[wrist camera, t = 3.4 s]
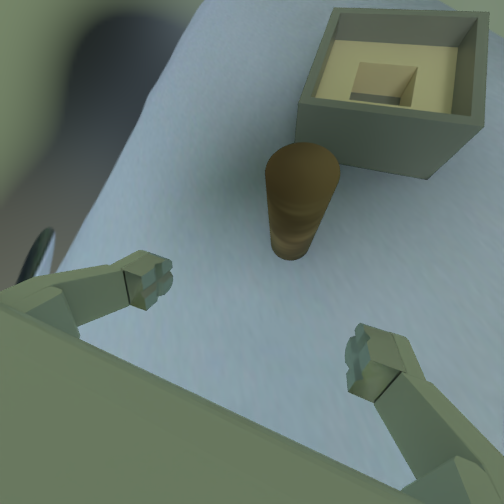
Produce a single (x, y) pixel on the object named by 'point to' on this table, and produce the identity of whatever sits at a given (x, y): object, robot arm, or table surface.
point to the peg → (298, 195)
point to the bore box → (396, 88)
